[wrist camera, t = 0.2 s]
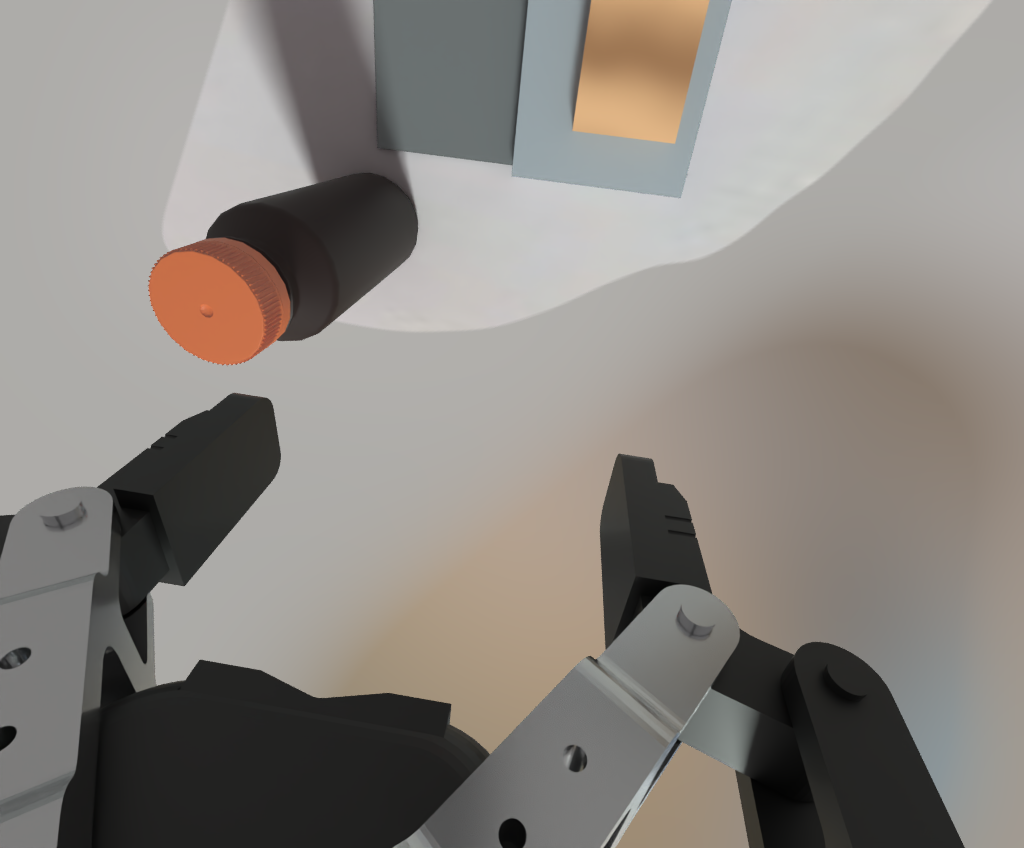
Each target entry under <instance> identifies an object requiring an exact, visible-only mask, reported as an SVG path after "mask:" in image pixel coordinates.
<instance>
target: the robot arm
mask: <svg viewBox="0 0 1024 848" xmlns="http://www.w3.org/2000/svg"><path fill="white" fill-rule="evenodd" d="M280 460H281V453H280V446H279V440H278V435H277V427H276V421H275V416H274V409H273V405H272V403H271V401H270V400H269V399H268V398H263V397H258V396H251V395H245V394H238V393H232V394H230V395H228V396H227V397H226V398H225V399H224V400H222V401H221V402H220V403H218V404H217V405H216V406H215V407H213V408H212V409H211V410H210V411H208V410H206V411H204V412H202V413H200V414H197V415H195V416H192V417H190V418H188V419H186V420H183V421H182V422H180V423H179V424H178V425H177V426H175V427H174V428H173V429H171V430H170V431H169V432H168V433H166V434H165V437H161V438H160V439H159V440H157V441H156V442H155V443H153V444H152V445H151V448H150V449H149V448H147V449H146V450H145V451H143V452H142V453H141V454H139V455H138V456H137V457H135V458H134V459H133V460H132V461H130V462H129V463H128V464H127V465H125V466H124V467H123V468H121V469H120V470H119V471H117V472H116V473H115V474H114V475H112V476H111V477H110V478H108V479H107V480H106V481H105V482H103V483H102V484H101V485H99V486H98V487H97V488H95V487H75V488H69V489H64V490H60V491H56V492H53V493H50V494H48V495H45V496H43V497H40V498H39V499H36V500H35V501H33V502H31V503H29V504H28V505H26V506H25V507H24V508H22V509H21V510H20V511H19V512H18V513H17V514H16V515H4V516H0V848H615V847H616V846H617V844H618V842H619V841H620V839H621V837H622V835H623V834H624V832H625V831H626V829H627V828H628V826H629V824H630V823H631V821H632V819H633V818H634V816H635V815H636V813H637V812H638V810H639V809H640V807H641V805H642V804H643V802H644V801H645V799H646V797H647V796H648V795H649V793H650V791H651V790H652V788H653V787H654V785H655V784H656V782H657V781H658V779H659V777H660V776H661V774H662V773H663V771H664V770H665V768H666V767H667V765H668V764H669V762H670V760H671V759H672V757H673V756H674V754H675V753H676V751H677V749H678V748H679V746H680V745H681V743H682V742H683V743H686V744H687V745H689V746H691V747H693V748H695V749H697V750H699V751H701V752H703V753H704V754H706V755H708V756H710V757H712V758H714V759H716V760H718V761H720V762H722V763H723V764H725V765H727V766H729V767H731V768H733V769H735V771H736V776H737V782H738V788H739V793H740V799H741V804H742V809H743V814H744V821H745V826H746V831H747V837H748V842H749V847H750V848H965V847H964V845H963V843H962V841H961V839H960V837H959V835H958V833H957V831H956V828H955V826H954V824H953V822H952V820H951V818H950V816H949V814H948V812H947V810H946V807H945V805H944V803H943V801H942V799H941V797H940V795H939V793H938V791H937V789H936V787H935V785H934V782H933V780H932V778H931V776H930V774H929V772H928V770H927V768H926V766H925V763H924V761H923V759H922V757H921V756H920V753H919V751H918V749H917V747H916V745H915V742H914V741H913V738H912V736H911V734H910V732H909V730H908V728H907V726H906V724H905V721H904V719H903V717H902V715H901V713H900V711H899V709H898V707H897V705H896V703H895V701H894V698H893V696H892V694H891V692H890V691H889V689H888V687H887V685H886V684H885V683H884V681H883V680H882V679H881V677H880V676H879V675H878V674H877V673H876V672H875V671H874V670H873V669H872V668H871V667H870V666H869V665H868V664H867V663H865V662H864V661H863V660H861V659H860V658H859V657H857V656H855V655H854V654H852V653H851V652H849V651H847V650H845V649H842V648H840V647H838V646H835V645H832V644H829V643H822V642H811V643H807V644H805V645H803V646H801V647H800V648H799V649H798V650H797V652H796V653H795V655H793V654H791V653H789V652H786V651H784V650H782V649H779V648H777V647H775V646H773V645H770V644H768V643H765V642H763V641H761V640H759V639H757V638H755V637H753V636H750V635H749V634H747V633H746V632H744V631H742V630H741V629H740V628H739V626H738V623H737V620H736V618H735V616H734V615H733V613H732V612H731V611H730V609H729V608H728V607H727V606H726V605H725V604H724V603H723V602H722V601H721V600H720V599H718V598H717V597H716V596H714V595H713V594H712V591H711V588H710V584H709V580H708V577H707V573H706V570H705V566H704V562H703V559H702V555H701V551H700V548H699V544H698V540H697V538H695V535H696V533H695V529H694V526H693V523H691V520H692V519H691V515H690V511H689V508H688V504H687V501H686V500H685V499H684V498H683V496H682V495H681V494H680V493H679V491H678V490H677V489H676V488H675V486H674V485H671V484H665V483H658V481H657V476H656V472H655V467H654V462H653V460H652V459H649V458H643V457H636V456H630V455H624V454H618V456H617V458H616V461H615V464H614V468H613V471H612V476H611V479H610V483H609V486H608V490H607V494H606V497H605V501H604V505H603V510H602V515H601V523H600V542H601V563H602V582H603V583H602V584H603V605H604V626H605V645H606V650H605V651H604V653H603V654H602V655H601V656H600V657H598V658H597V659H594V658H593V657H591V656H588V657H586V658H584V659H583V660H582V661H580V663H578V664H577V665H576V666H575V667H574V668H573V669H572V670H571V671H570V672H569V673H568V674H567V676H565V678H564V679H563V680H562V681H561V682H560V683H559V684H558V685H557V686H556V687H555V688H554V689H553V690H552V691H551V692H550V693H549V694H548V695H547V696H546V697H545V698H544V699H543V700H542V702H540V704H539V705H538V706H537V707H536V708H535V709H534V710H533V711H532V712H531V713H530V714H529V715H528V716H527V717H526V718H525V719H524V720H523V721H522V722H521V723H520V724H519V725H518V726H517V727H516V729H515V730H514V731H513V732H512V733H511V734H510V735H509V736H508V737H507V738H506V739H505V740H504V741H503V742H502V743H501V744H500V745H499V746H498V747H497V749H495V750H494V751H493V753H491V754H489V753H488V752H487V751H486V749H484V748H483V747H482V746H481V745H480V744H479V743H478V742H477V741H475V740H474V739H473V738H472V737H470V736H469V735H467V734H466V733H464V732H463V731H461V730H459V729H457V728H455V727H453V726H451V725H450V712H451V704H448V703H443V702H437V701H431V700H425V699H420V698H414V697H409V696H403V695H397V694H392V693H382V694H370V695H357V696H345V697H333V698H316V697H312V696H310V695H308V694H306V693H304V692H302V691H300V690H298V689H296V688H294V687H292V686H290V685H289V684H287V683H284V682H282V681H280V680H279V679H277V678H275V677H273V676H271V675H269V674H267V673H265V672H263V671H261V670H255V669H250V668H244V667H238V666H233V665H227V664H221V663H216V662H210V661H204V660H199V662H198V663H197V664H196V666H195V667H194V669H193V670H192V672H191V673H190V675H189V676H188V677H187V679H186V680H185V681H177V682H172V683H167V684H162V685H158V686H156V680H155V651H154V609H153V599H152V596H151V594H150V591H151V590H152V589H153V588H154V587H155V586H156V584H157V583H158V582H162V583H163V582H164V583H168V584H174V585H180V586H185V585H186V584H187V583H188V581H189V580H190V579H191V577H193V575H194V574H195V573H196V572H197V571H198V569H199V568H200V567H201V566H202V565H203V563H204V562H205V561H206V560H207V559H208V557H209V556H210V555H211V554H212V552H213V551H214V550H215V549H216V548H217V547H218V545H219V544H220V543H221V542H222V541H223V539H224V538H225V537H226V536H227V535H228V533H229V532H230V531H231V530H232V529H233V527H234V526H235V525H236V524H237V523H238V521H239V520H240V519H241V517H243V515H244V514H245V513H246V512H247V511H248V509H249V508H250V507H251V506H252V504H253V503H254V502H255V501H256V500H257V498H258V497H259V496H260V495H261V494H262V493H263V491H264V490H265V489H266V488H267V487H268V485H269V484H270V483H271V482H272V481H273V479H274V478H275V476H276V474H277V472H278V469H279V466H280Z"/></svg>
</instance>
